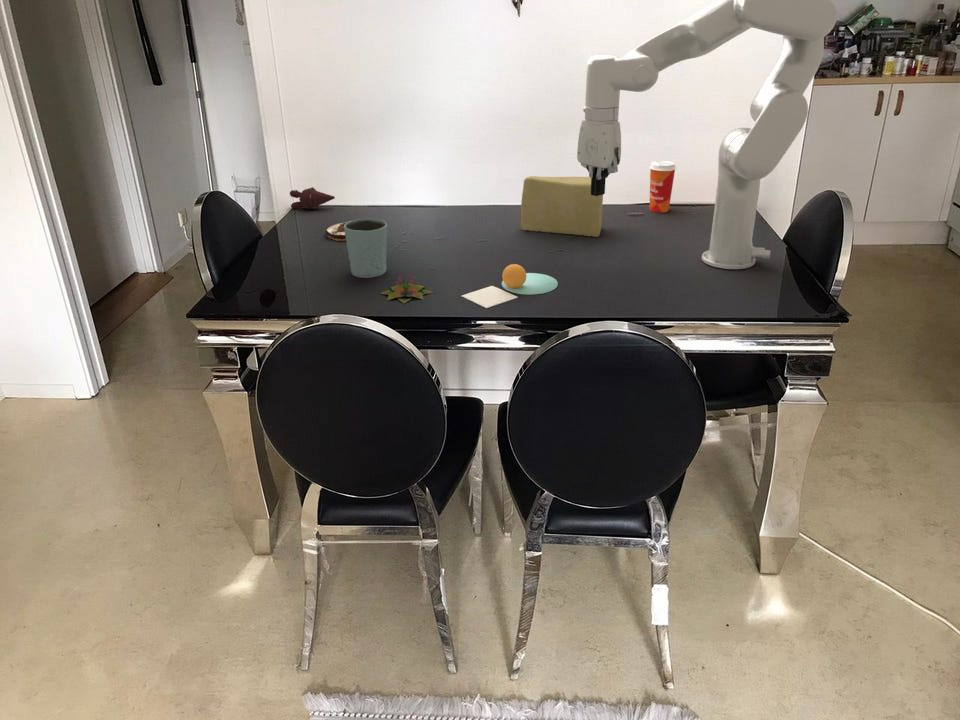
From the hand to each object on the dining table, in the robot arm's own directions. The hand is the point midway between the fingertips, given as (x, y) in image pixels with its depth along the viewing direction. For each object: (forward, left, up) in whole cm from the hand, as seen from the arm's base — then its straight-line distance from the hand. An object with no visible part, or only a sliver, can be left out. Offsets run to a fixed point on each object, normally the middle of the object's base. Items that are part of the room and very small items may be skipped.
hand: (597, 194), depth 177 cm
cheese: (+13, -23, -17) cm, 32 cm away
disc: (+12, +18, -17) cm, 27 cm away
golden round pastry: (+70, -7, -18) cm, 73 cm away
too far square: (+19, +27, -17) cm, 38 cm away
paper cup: (-12, -49, -17) cm, 54 cm away
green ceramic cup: (+52, +19, -17) cm, 58 cm away
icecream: (+93, -29, -17) cm, 99 cm away
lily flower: (+38, +30, -18) cm, 52 cm away
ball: (+15, +21, -14) cm, 29 cm away
